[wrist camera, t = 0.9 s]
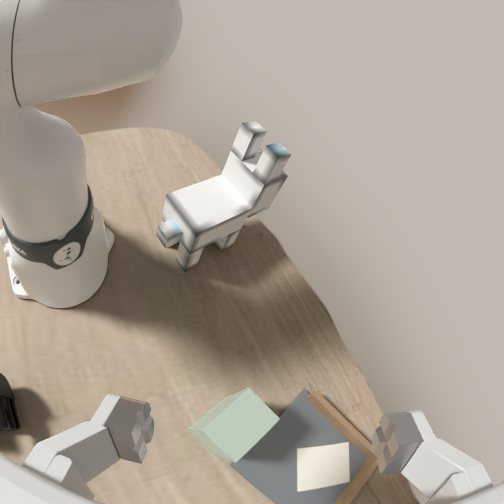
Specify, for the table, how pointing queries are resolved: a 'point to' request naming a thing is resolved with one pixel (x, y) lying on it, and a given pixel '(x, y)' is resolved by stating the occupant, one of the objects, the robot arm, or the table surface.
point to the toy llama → (224, 197)
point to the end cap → (7, 407)
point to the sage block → (234, 425)
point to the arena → (309, 456)
